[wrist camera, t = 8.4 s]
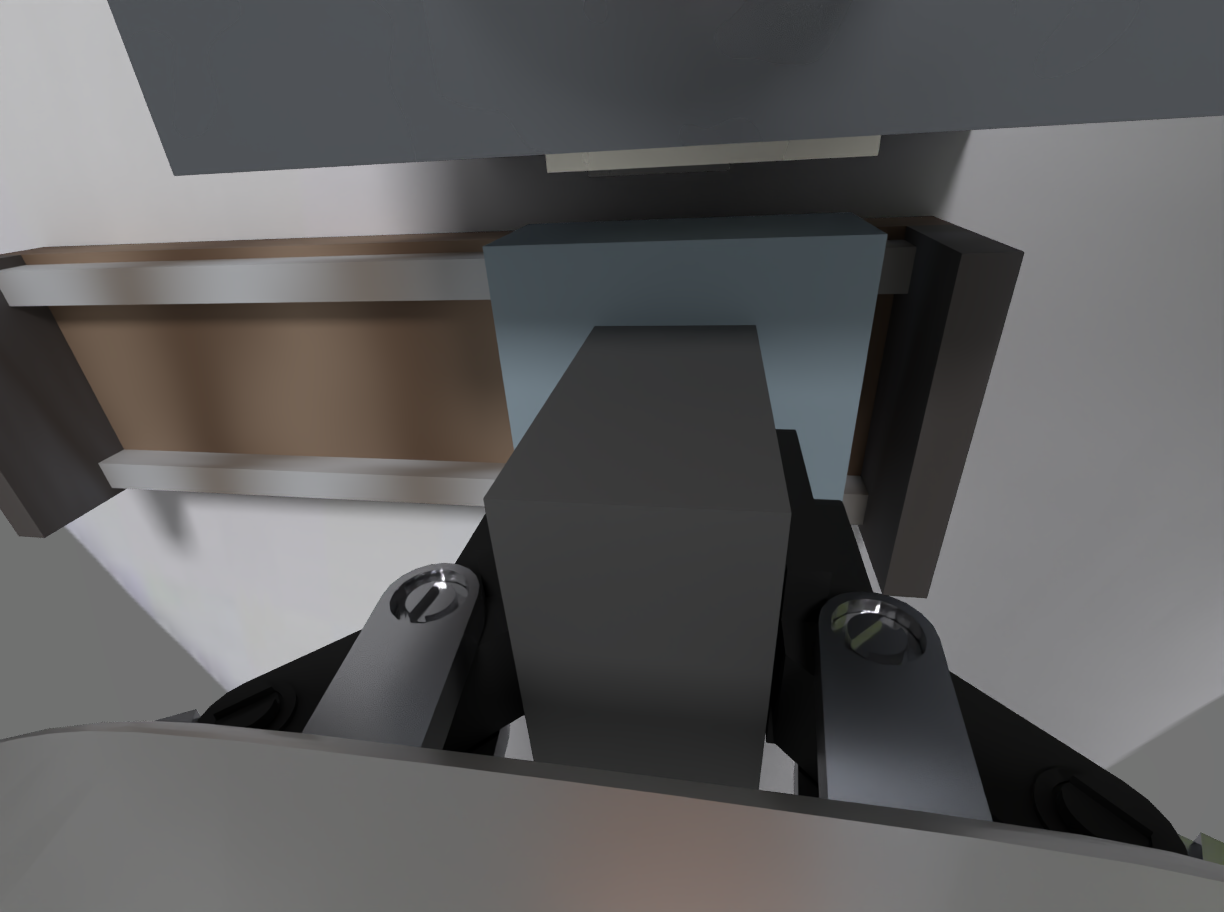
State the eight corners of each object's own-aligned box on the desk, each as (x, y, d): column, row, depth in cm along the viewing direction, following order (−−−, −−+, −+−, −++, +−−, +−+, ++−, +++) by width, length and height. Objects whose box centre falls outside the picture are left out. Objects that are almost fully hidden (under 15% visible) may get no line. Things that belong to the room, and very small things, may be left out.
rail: (932, 215, 14) (1024, 252, 10) (877, 487, 18) (926, 598, 14) (44, 247, 19) (-157, 281, 14) (152, 459, 23) (19, 535, 18)
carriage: (851, 212, 12) (1092, 358, 4) (804, 553, 16) (881, 933, 9) (529, 224, 13) (255, 356, 5) (565, 539, 17) (442, 862, 10)
